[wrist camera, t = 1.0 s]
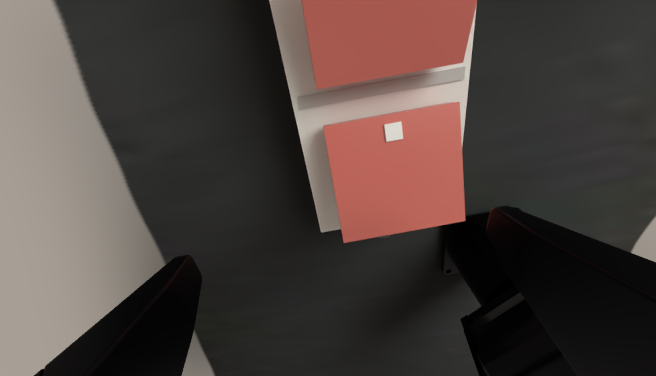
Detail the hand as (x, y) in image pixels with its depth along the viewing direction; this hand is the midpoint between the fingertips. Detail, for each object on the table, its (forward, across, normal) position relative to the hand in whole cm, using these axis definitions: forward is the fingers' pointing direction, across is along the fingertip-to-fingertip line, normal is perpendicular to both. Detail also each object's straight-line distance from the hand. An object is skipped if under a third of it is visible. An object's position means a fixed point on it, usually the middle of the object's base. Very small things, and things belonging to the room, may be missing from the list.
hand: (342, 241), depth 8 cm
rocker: (+6, -3, +2) cm, 7 cm away
